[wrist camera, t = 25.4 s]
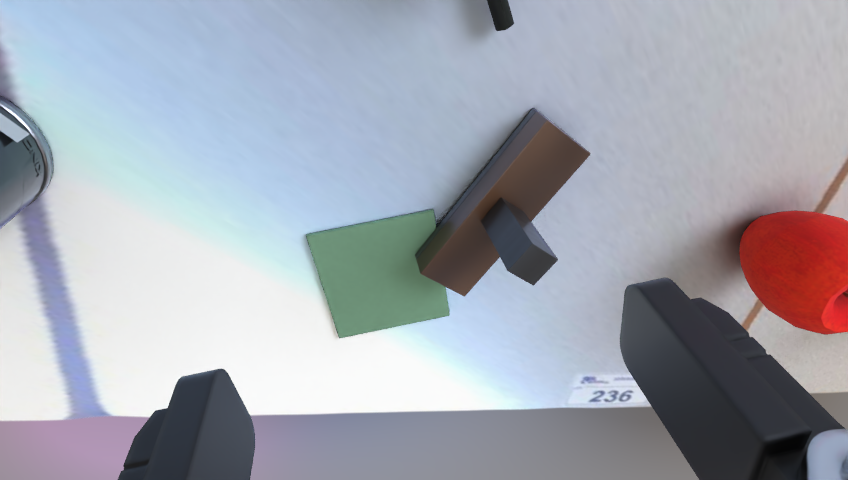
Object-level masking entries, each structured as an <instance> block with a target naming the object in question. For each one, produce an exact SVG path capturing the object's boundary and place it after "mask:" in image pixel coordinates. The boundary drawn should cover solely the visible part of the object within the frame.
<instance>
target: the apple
mask: <svg viewBox="0 0 848 480" xmlns="http://www.w3.org/2000/svg"><path fill="white" fill-rule="evenodd" d="M739 255H740V261H741V267H742V270H743V272H744V275H745V278H746V280H747V282H748V284H749V286H750V288H751V289H752V291H753V292H754V293H755V295H756V296H757V297H758V298H759V300H760V301H761V302H762V303H763V304H764V305H765V307H766V308H767V309H768V310H769V311H771V312H773V313H774V314H776V315H777V316H779V317H781V318H782V319H784V320H785V321H787V322H789V323H790V324H792V325H793V326H795V327H798V328H801V329H805V330H808V331H812V332H816V333H821V334H833V333H841V332H848V221H846V220H844V219H842V218H838V217H834V216H830V215H826V214H821V213H816V212H808V211H786V212H777V213H773V214H769V215H764V216H760V217H759V218H758V219H756V220H755V221H753V222H752V223H751V224H750V225H749V226H748V227H747V229H746V230H745V231H744V233H743V235H742V238H741V240H740V251H739Z"/></svg>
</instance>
